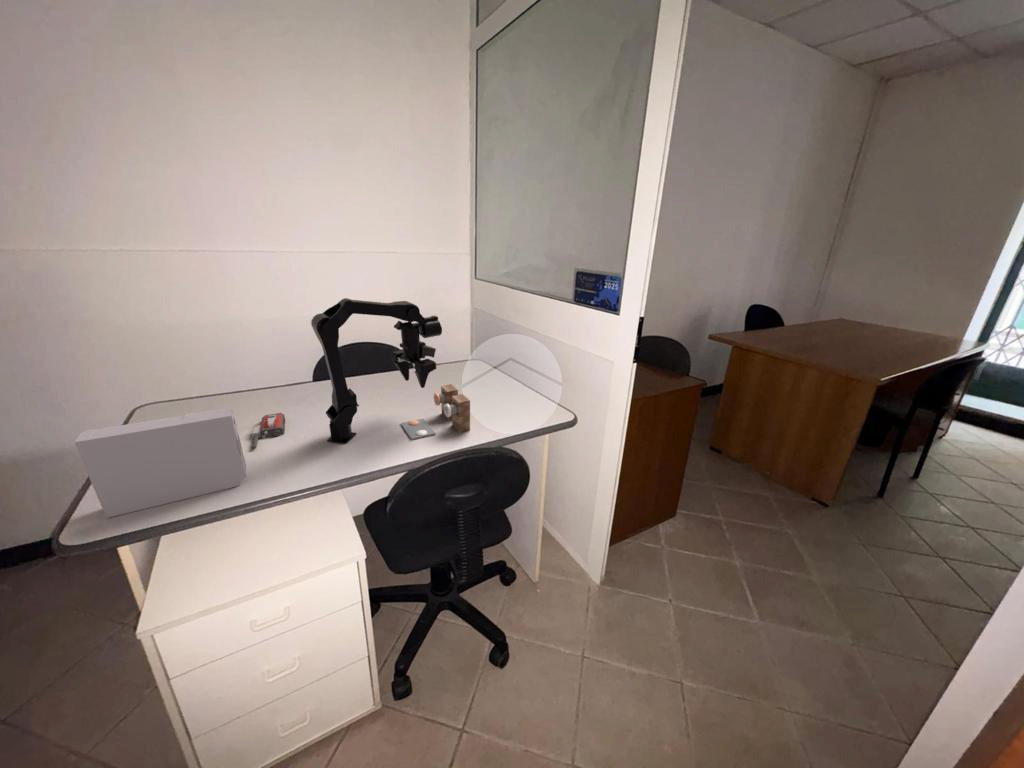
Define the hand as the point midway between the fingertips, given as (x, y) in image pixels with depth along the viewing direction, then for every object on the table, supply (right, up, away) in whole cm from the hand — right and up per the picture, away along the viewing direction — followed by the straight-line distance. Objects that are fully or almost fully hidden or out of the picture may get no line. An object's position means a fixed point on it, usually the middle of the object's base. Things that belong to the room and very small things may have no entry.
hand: (415, 383), depth 137 cm
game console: (-48, -28, -38) cm, 67 cm away
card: (+2, -15, -2) cm, 16 cm away
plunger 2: (+14, -10, -3) cm, 18 cm away
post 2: (+16, -15, 0) cm, 22 cm away
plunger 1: (+9, -7, +5) cm, 13 cm away
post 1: (+11, -12, +8) cm, 18 cm away
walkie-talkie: (-45, -16, -9) cm, 48 cm away
